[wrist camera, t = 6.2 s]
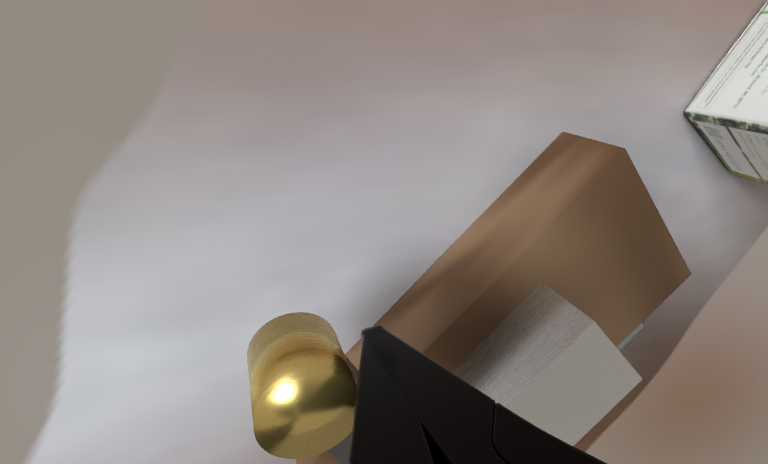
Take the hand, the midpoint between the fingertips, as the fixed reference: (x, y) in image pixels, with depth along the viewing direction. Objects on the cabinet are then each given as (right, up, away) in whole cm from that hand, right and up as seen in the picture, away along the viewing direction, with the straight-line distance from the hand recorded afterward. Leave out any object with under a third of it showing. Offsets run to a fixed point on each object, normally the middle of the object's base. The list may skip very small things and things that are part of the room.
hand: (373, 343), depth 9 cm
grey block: (+5, -3, +8) cm, 10 cm away
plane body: (+4, -2, +10) cm, 11 cm away
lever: (0, -3, +5) cm, 6 cm away
